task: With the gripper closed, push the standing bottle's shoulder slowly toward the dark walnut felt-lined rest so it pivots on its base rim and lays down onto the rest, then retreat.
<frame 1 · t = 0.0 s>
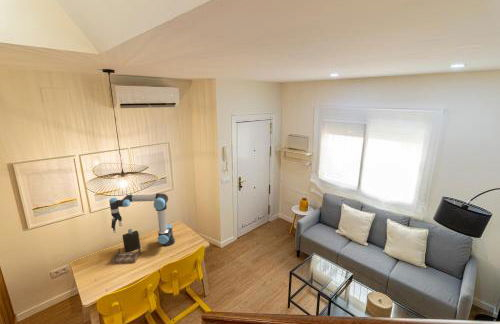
hand: (117, 229, 267), 28 cm above the table, fingers open, 13 cm apart
walnut rest: (126, 258, 263), on the table
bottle: (132, 249, 278), on the table
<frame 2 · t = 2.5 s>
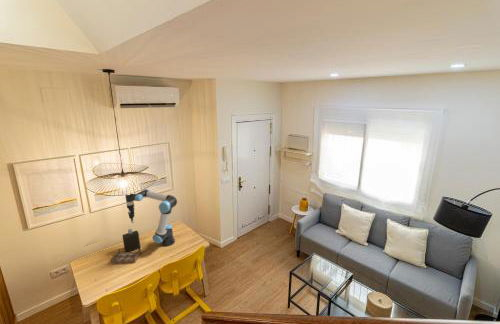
hand: (132, 222, 281), 28 cm above the table, fingers closed
nothing on the table moved.
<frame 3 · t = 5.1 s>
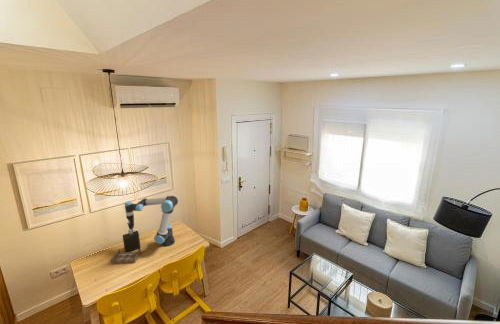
hand: (132, 233, 279), 17 cm above the table, fingers closed
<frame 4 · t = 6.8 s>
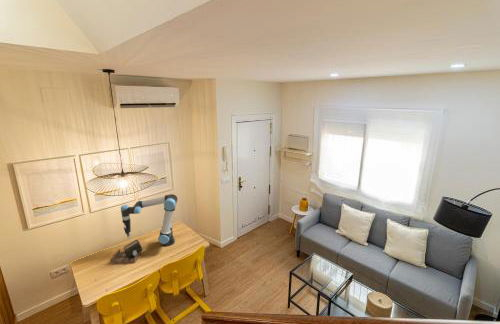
hand: (129, 237, 269), 17 cm above the table, fingers closed
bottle: (131, 245, 275), point 6 cm above the table, touching walnut rest
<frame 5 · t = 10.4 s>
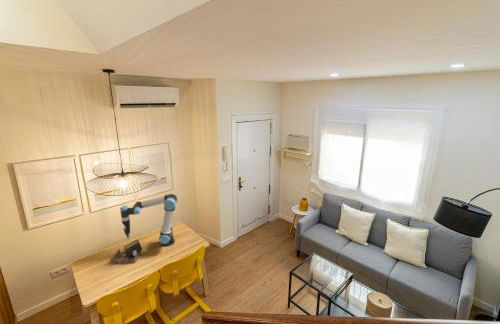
hand: (128, 238, 268), 17 cm above the table, fingers closed
nothing on the table moved.
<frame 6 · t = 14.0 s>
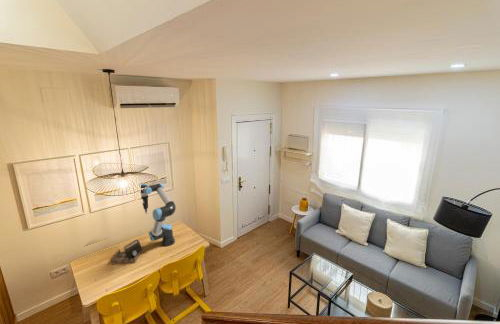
hand: (146, 213, 290), 34 cm above the table, fingers closed
nothing on the table moved.
at the end: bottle tilted 80°; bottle inside the target area (13.0 cm from its centre), point 5.7 cm above the table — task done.
